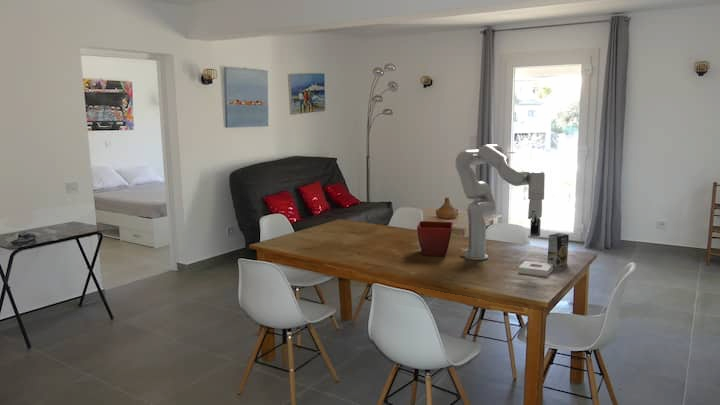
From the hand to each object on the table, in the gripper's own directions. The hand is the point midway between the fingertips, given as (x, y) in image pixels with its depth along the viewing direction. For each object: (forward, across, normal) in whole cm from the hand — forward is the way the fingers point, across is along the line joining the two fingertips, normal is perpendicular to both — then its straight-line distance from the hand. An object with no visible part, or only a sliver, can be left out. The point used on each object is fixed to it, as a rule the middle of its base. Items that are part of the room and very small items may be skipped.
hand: (535, 232), depth 279 cm
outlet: (+20, +1, +1) cm, 20 cm away
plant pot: (+19, -11, -58) cm, 62 cm away
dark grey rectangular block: (+2, 0, 0) cm, 2 cm away
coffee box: (+20, -18, +8) cm, 28 cm away
